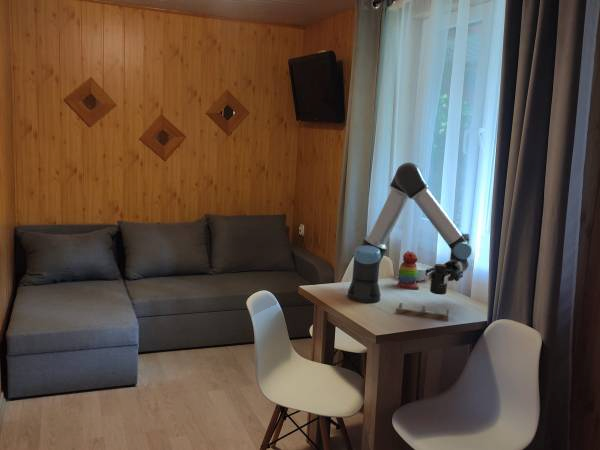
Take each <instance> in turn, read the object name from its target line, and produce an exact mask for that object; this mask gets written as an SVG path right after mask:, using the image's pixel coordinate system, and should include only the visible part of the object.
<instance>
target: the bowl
mask: <svg viewBox="0 0 600 450" xmlns="http://www.w3.org/2000/svg"><path fill="white" fill-rule="evenodd" d="M415 264H416V267H417V279H416V281H417V282H421V281H422V280H423V281H424V280H426V277H427V276H426V275H425V274H426V270H427V269H429V268H432V267H433V266H431V265H429V264H424V263H419V262H416V263H415ZM423 281H422V282H423Z"/></svg>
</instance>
